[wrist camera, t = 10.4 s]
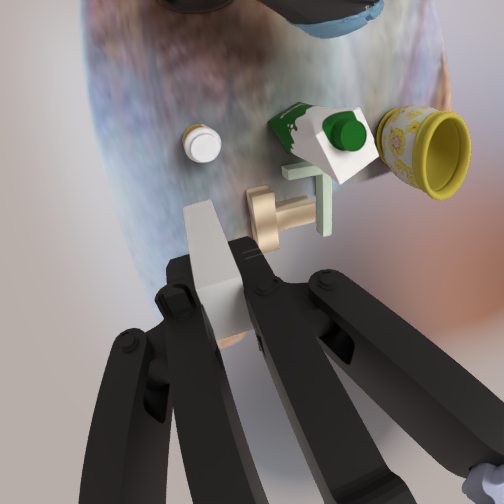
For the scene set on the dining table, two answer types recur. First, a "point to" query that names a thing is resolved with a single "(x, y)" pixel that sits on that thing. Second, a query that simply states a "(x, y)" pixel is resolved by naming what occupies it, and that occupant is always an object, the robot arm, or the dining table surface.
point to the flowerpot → (425, 148)
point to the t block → (275, 216)
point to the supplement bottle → (201, 143)
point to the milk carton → (327, 138)
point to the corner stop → (321, 192)
